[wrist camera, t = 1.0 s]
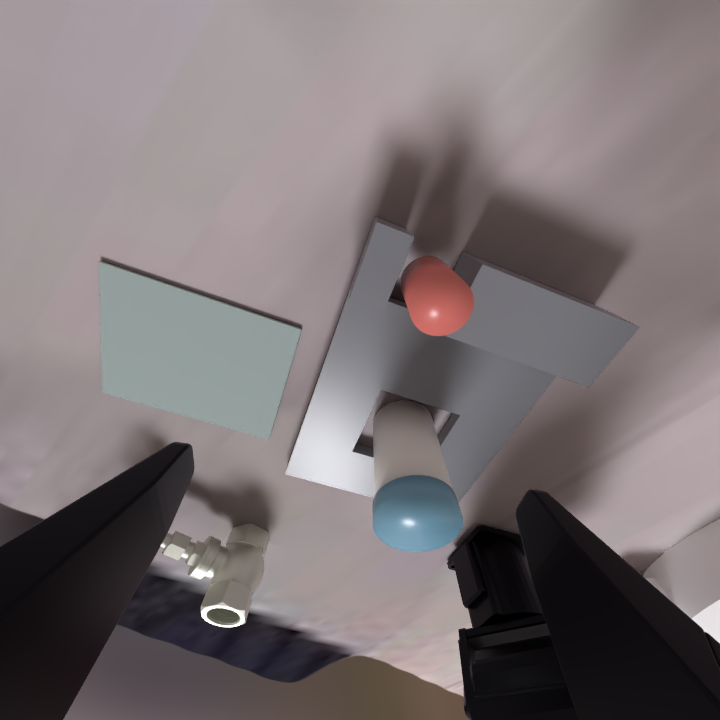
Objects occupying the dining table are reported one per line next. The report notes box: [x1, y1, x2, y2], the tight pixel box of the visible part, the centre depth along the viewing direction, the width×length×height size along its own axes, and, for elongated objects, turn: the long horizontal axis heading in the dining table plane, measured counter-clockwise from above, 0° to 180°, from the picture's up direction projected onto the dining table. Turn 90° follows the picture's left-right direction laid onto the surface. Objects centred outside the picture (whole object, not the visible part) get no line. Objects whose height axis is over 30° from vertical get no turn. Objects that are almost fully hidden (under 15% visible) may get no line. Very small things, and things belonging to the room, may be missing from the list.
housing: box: [285, 217, 639, 503], centre depth 21 cm, size 14×19×4 cm
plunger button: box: [401, 256, 474, 336], centre depth 15 cm, size 3×3×4 cm
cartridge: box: [373, 400, 463, 552], centre depth 20 cm, size 5×5×8 cm
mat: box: [99, 261, 302, 440], centre depth 21 cm, size 12×10×1 cm
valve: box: [160, 523, 268, 627], centre depth 26 cm, size 7×7×12 cm
